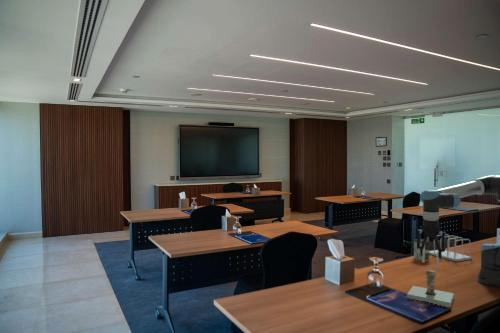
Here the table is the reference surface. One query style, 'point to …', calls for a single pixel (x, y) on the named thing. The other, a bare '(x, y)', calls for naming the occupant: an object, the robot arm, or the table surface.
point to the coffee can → (417, 250)
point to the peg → (430, 282)
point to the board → (438, 298)
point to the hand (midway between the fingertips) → (430, 262)
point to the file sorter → (452, 255)
